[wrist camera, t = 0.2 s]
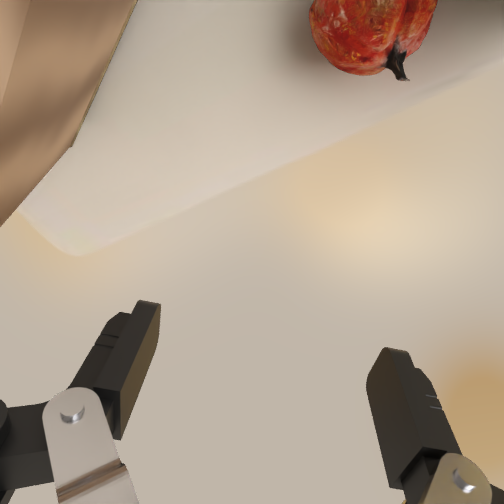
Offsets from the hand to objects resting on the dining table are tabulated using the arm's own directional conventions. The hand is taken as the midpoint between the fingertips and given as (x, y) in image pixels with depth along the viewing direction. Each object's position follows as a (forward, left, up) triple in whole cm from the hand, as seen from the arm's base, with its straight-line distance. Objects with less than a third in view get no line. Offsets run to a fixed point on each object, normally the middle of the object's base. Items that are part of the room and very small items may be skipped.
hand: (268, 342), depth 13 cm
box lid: (+3, -13, -11) cm, 17 cm away
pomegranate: (-10, -1, -23) cm, 25 cm away
